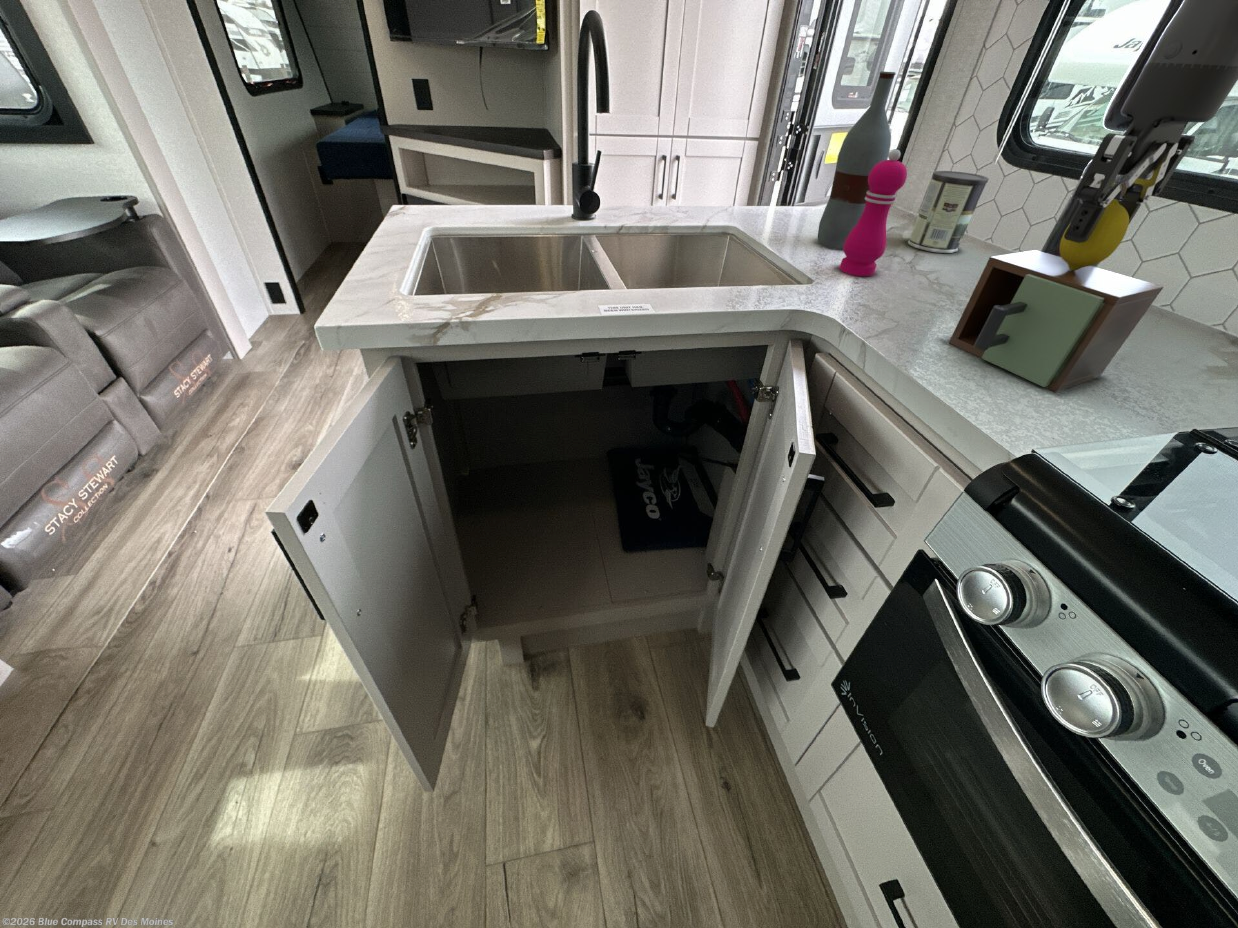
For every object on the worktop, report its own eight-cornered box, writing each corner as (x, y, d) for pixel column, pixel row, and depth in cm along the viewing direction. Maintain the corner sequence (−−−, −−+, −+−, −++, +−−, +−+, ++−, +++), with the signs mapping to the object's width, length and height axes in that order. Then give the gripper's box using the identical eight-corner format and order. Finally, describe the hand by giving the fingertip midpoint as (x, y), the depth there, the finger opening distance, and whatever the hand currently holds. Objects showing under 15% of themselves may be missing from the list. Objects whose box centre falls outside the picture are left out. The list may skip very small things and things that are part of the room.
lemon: (1109, 280, 61) (1156, 206, 56) (1058, 275, 61) (1100, 202, 56) (1085, 266, 65) (1127, 196, 60) (1038, 261, 66) (1076, 192, 60)
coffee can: (943, 241, 118) (972, 172, 109) (966, 254, 110) (999, 181, 101) (899, 238, 118) (925, 169, 109) (919, 252, 110) (948, 178, 101)
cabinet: (1055, 392, 63) (1119, 297, 56) (948, 342, 74) (989, 256, 66) (1099, 377, 67) (1164, 286, 60) (991, 332, 77) (1034, 249, 70)
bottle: (856, 241, 114) (910, 73, 96) (861, 253, 107) (921, 74, 89) (813, 236, 116) (857, 70, 97) (815, 247, 109) (864, 70, 90)
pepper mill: (857, 279, 94) (899, 153, 81) (828, 267, 99) (864, 146, 86) (884, 275, 97) (929, 152, 84) (854, 263, 102) (893, 146, 89)
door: (1018, 396, 61) (1074, 305, 54) (955, 365, 67) (999, 279, 60) (1047, 386, 64) (1105, 298, 57) (984, 357, 69) (1029, 274, 62)
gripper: (1210, 59, 45) (1093, 253, 55) (1277, 66, 50) (1158, 242, 61) (1115, 56, 50) (1024, 235, 60) (1185, 63, 56) (1090, 226, 66)
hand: (1092, 238), depth 61 cm, fingers open, 7 cm apart
